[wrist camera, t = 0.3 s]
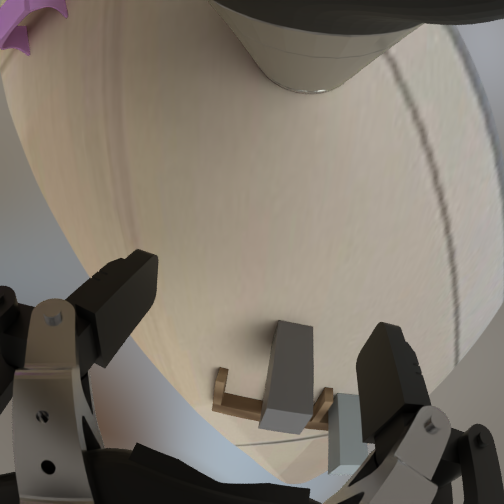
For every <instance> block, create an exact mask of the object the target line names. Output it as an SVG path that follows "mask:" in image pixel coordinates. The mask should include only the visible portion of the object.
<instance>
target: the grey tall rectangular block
mask: <svg viewBox="0 0 504 504" xmlns="http://www.w3.org/2000/svg"><path fill="white" fill-rule="evenodd" d="M313 384H314V361H313V327H311V326H306V325H301V324H296V323H291V322H286V321H281V320H279V322H278V325H277V329H276V332H275V335H274V339H273V342H272V346H271V353H270V360H269V366H268V373H267V379H266V385H265V392H264V398H263V404H262V410H261V416H260V421H259V427H258V428H260V429H265V430H271V431H277V432H284V433H291V434H299V435H300V433H301V432H302V430H303V429H304V428H305V426H306V425H307V423H308V422H309V420H310V419H311V417H312V416H313Z"/></svg>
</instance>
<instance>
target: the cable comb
mask: <svg viewBox="0 0 504 504" xmlns="http://www.w3.org/2000/svg"><path fill="white" fill-rule="evenodd" d="M227 375H228V369H225V368H221V367H220V369H219V372H218V375H217V378H216V382H215V390H214V398H213V406H212V411H215V412H219V413H223V414H227V415H231V416H236V417H240V418H245V419H250V420H255V421H260V416H261V410H262V404H263V401H261V400H256V399H251V398H246V397H241V396H237V395H233V394H228V393H224V392H225V386H226V381H227ZM332 404H333V388H326V387H325V388H324V390H323V392H322V393H321V395H320V397H319V398H318V400H317V401H316V403H315V405H314V406H313V416H312V417H311V419H310V420H309V422H308V423H307V425H306V426H305V428H307V429H316V430H326V431H329V427H328V409H329V408H330V406H331V405H332Z"/></svg>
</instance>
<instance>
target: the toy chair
mask: <svg viewBox="0 0 504 504" xmlns="http://www.w3.org/2000/svg"><path fill="white" fill-rule="evenodd" d="M45 7H52V8H54V9H56V10H58V11H59V12H60V13H61V14H62V15H63V16H64V17H65V18H67V17H68V13H67V8H66V3H65V0H7V1H6V2H5V3H4V4H3V5H2V6H1V8H0V49H1V50H4V49H8V48H16V49H18V50H20V51H22V52H23V53H25V54H26V55H28V56H29V55H30V49H29V43H28V35H27V27H26V26H17V25H18V24H19V23H20V22H21V21H22V20H23V19H24V18H25V17H26V16H27V15H28V14H29V13H31V12H33V11H35V10H38V9H41V8H45Z"/></svg>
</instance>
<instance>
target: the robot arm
mask: <svg viewBox="0 0 504 504" xmlns="http://www.w3.org/2000/svg"><path fill="white" fill-rule="evenodd" d="M207 1H208V2H209V3H210V5H211V6H212V7H213V8H214V9H215V10H216V11H217V13H218V14H219V15H220V16H221V17H222V19H223V20H224V21H225V22H226V23H227V25H228V26H229V27H230V29H231V30H232V31H233V32H234V34H235V35H236V36H237V38H238V39H239V40H240V41H241V43H242V44H243V45H244V47H245V48H246V49H247V51H248V52H249V54H250V55H251V56H252V58H253V59H254V61H255V62H256V63H257V65H258V66H259V68H260V69H261V70H262V71H263V73H264V74H265V75H266V76H267V77H268V78H269V79H270V80H272V81H273V82H274V83H276V84H277V85H279V86H281V87H283V88H285V89H287V90H290V91H294V92H297V93H305V94H317V93H324V92H327V91H331V90H333V89H335V88H337V87H339V86H341V85H342V84H344V83H345V82H346V81H347V80H349V79H350V78H352V77H353V76H354V75H356V74H357V73H358V72H359V71H361V70H362V69H363V68H364V67H366V66H367V65H368V64H370V63H371V62H372V61H374V60H375V59H376V58H378V57H379V56H380V55H382V54H383V53H384V52H386V51H387V50H388V49H390V48H391V47H392V46H394V45H395V44H396V43H398V42H399V41H400V40H401V39H403V38H404V37H406V36H407V35H408V34H410V33H411V32H413V31H414V30H416V29H417V28H418V27H420V26H421V25H423V24H424V23H427V24H440V25H466V24H476V23H484V22H490V21H494V20H498V19H504V0H207ZM157 274H158V256H157V255H155V254H152V253H149V252H146V251H143V250H140V249H137V250H135V251H134V252H133V253H131V254H130V255H129V256H128V257H127V258H125V259H123V258H119V259H117V260H114V261H111V262H109V263H107V264H106V265H105V266H104V267H103V268H101V269H100V270H99V272H97V273H95V274H94V275H93V276H92V278H89V279H88V280H87V281H86V282H85V283H84V284H82V285H81V286H80V287H79V288H78V289H77V290H76V291H74V292H73V293H72V294H71V295H70V296H69V297H68V298H67V299H65V300H62V299H48V300H45V301H43V302H41V303H39V304H38V305H37V306H36V307H33V306H28V305H24V304H20V303H18V302H17V299H16V295H15V292H14V291H13V290H12V289H11V288H10V287H7V286H0V414H1V413H2V411H3V410H4V409H5V407H6V405H7V404H8V403H9V401H10V400H11V398H12V397H13V401H12V402H13V403H12V429H13V430H12V432H13V450H14V462H15V471H16V472H12V473H7V474H2V475H0V504H321V503H320V502H317V501H315V500H313V499H311V498H309V496H310V489H308V488H298V487H291V486H283V485H277V484H271V483H258V484H228V483H220V482H218V481H215V480H213V479H212V478H210V477H208V476H206V475H204V474H202V473H201V472H199V471H197V470H195V469H194V468H192V467H190V466H189V465H187V464H185V463H184V462H182V461H180V460H179V459H176V458H174V457H171V456H168V455H166V454H163V453H160V452H158V451H156V450H153V449H151V448H148V447H146V446H144V445H141V444H139V443H136V445H135V447H134V449H133V451H132V450H127V449H118V448H104V444H103V440H102V436H101V434H100V430H99V427H98V423H97V419H96V414H95V408H94V402H93V394H92V387H91V379H90V371H89V369H90V368H91V366H92V365H93V364H94V363H96V364H98V365H99V366H101V367H103V368H106V366H107V365H108V364H109V362H110V361H111V360H112V358H113V357H114V355H115V354H116V353H117V351H118V350H119V349H120V347H121V346H122V345H123V343H124V342H125V340H126V339H127V338H128V337H129V335H130V334H131V333H132V331H133V330H134V329H135V327H136V326H137V325H138V323H139V322H140V321H141V320H142V318H143V317H144V316H145V314H146V313H147V312H148V311H149V309H150V308H151V306H152V305H153V303H154V300H155V297H156V291H157ZM418 365H419V363H418V360H417V357H416V354H415V352H414V351H413V349H412V348H411V346H410V345H409V344H408V342H405V339H404V336H403V333H402V330H401V328H400V327H399V326H396V325H392V324H388V323H384V322H380V323H378V324H377V326H376V327H375V329H374V330H373V332H372V334H371V335H370V337H369V339H368V340H367V342H366V343H365V345H364V346H363V348H362V350H361V351H360V353H359V355H358V358H357V362H356V372H357V381H358V391H359V401H360V413H361V427H362V443H373V444H375V449H374V450H373V451H372V452H371V453H370V454H369V455H368V457H367V458H366V459H365V460H364V462H363V463H362V464H361V466H360V467H359V468H358V469H357V470H356V472H355V473H354V474H353V475H352V476H351V478H350V479H349V480H348V481H347V482H346V484H345V485H344V486H343V487H342V488H341V489H340V490H339V491H338V492H337V493H336V494H334V495H333V496H331V497H330V498H329V499H327V500H326V501H325V502H324V503H323V504H453V498H452V486H451V482H452V481H453V480H455V479H457V478H458V477H460V476H461V475H462V481H463V490H464V503H463V504H504V489H503V483H502V477H501V471H500V466H499V461H498V456H497V452H496V448H495V444H494V440H493V437H492V435H491V433H490V431H489V430H488V429H487V428H486V427H485V426H483V425H481V424H475V425H473V426H472V427H470V428H469V429H468V430H467V431H466V432H462V431H459V430H456V429H453V428H451V425H450V421H449V419H448V417H447V416H446V414H445V413H444V412H443V411H441V410H440V409H439V408H437V407H434V406H431V402H430V399H429V395H428V392H427V388H426V385H425V381H424V378H423V375H421V373H422V372H421V369H420V366H418Z"/></svg>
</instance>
